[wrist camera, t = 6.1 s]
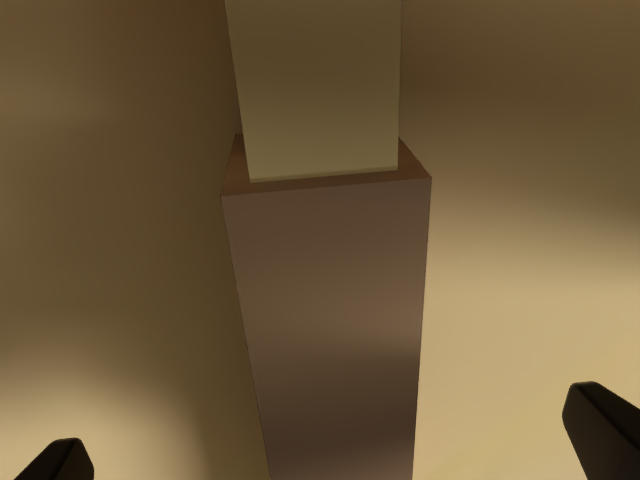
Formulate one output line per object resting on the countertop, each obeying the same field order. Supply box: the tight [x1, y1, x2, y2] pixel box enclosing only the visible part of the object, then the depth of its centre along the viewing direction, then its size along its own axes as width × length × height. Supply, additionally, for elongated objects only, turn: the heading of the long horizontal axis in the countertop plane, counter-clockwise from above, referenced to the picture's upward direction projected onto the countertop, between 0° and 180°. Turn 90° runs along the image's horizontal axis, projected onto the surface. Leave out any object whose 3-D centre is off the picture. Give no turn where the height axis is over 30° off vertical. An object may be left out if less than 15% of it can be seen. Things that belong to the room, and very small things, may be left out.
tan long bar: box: [220, 0, 432, 480], centre depth 10 cm, size 15×3×3 cm, turn 3°
